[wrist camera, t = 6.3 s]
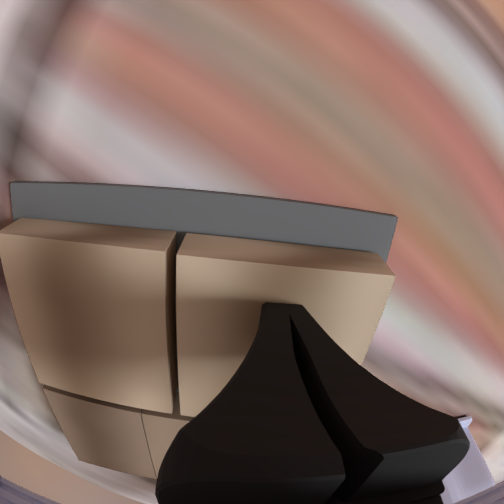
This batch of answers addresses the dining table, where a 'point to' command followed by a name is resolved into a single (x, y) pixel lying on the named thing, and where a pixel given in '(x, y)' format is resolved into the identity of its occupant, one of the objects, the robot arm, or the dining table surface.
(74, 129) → the dining table surface
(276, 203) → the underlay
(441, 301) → the dining table surface
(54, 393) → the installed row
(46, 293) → the plank
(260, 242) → the plank
